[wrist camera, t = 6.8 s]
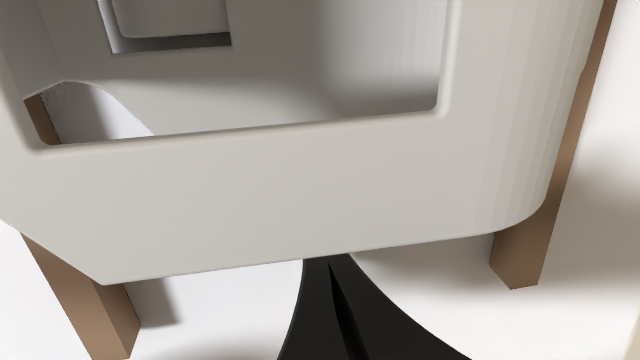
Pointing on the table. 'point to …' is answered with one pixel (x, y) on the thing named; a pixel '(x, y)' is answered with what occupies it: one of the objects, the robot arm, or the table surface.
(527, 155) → the cable organizer
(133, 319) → the rail channel
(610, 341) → the table surface
